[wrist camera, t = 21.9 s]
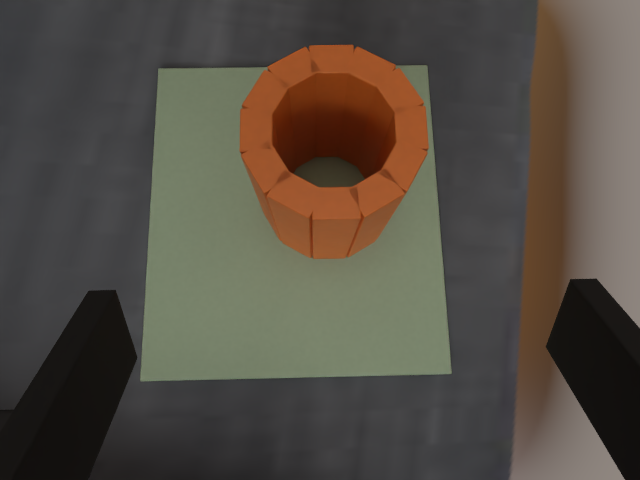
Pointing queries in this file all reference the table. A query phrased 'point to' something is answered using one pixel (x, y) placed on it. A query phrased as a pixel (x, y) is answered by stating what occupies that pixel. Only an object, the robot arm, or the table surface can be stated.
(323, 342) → the mat
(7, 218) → the table surface
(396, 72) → the orange hollow tube
